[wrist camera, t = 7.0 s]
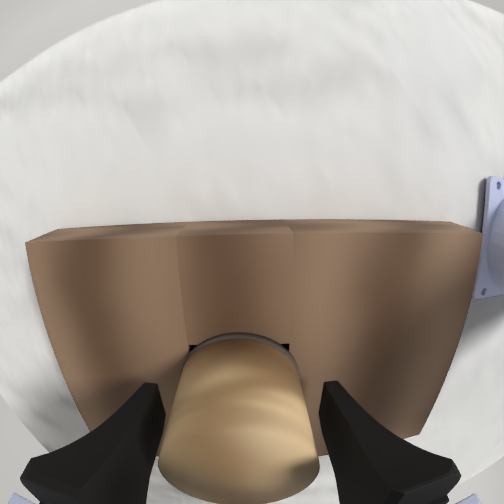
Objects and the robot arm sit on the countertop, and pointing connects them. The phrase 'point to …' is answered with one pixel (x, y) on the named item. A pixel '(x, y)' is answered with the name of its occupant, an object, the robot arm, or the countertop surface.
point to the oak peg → (239, 424)
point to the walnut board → (260, 306)
